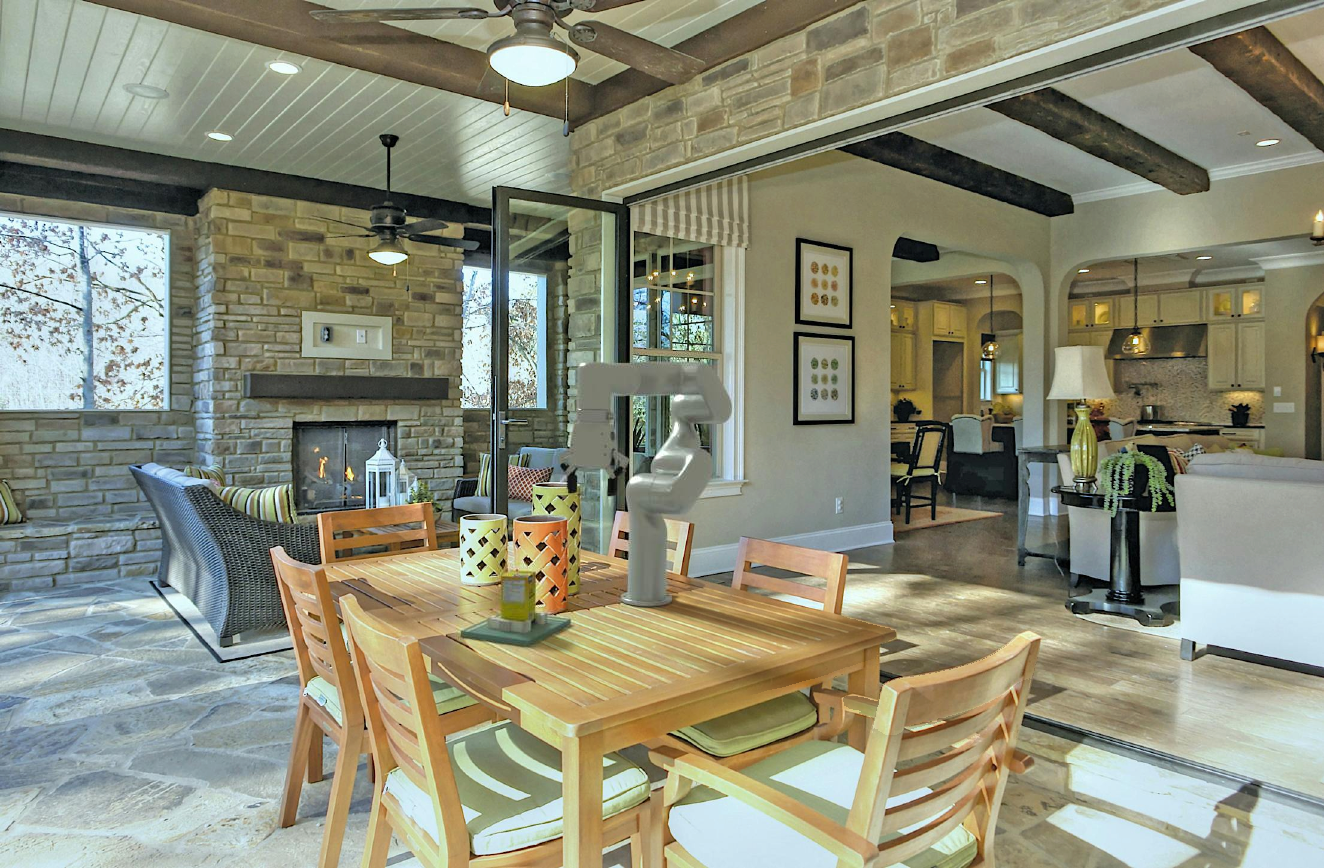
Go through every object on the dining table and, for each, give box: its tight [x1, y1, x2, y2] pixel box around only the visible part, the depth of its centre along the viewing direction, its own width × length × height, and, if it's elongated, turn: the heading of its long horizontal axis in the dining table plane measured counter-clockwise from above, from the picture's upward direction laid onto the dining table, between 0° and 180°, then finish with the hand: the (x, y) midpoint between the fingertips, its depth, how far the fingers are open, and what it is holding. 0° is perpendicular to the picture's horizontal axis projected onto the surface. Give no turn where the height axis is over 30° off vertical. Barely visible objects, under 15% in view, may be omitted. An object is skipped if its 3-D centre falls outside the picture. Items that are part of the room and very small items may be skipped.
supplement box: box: [500, 570, 537, 624], centre depth 170 cm, size 6×6×11 cm
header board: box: [460, 610, 572, 648], centre depth 170 cm, size 18×16×3 cm
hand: (591, 494), depth 179 cm, fingers open, 9 cm apart
